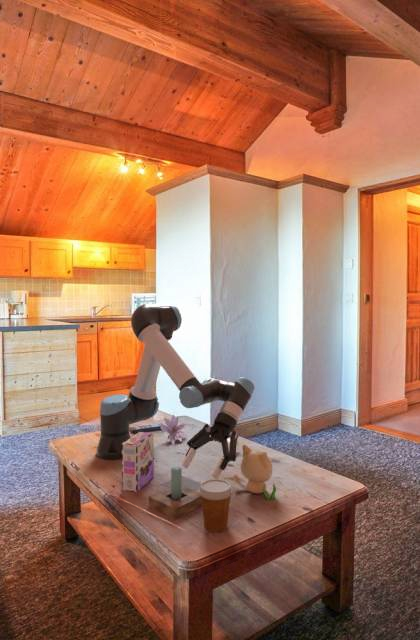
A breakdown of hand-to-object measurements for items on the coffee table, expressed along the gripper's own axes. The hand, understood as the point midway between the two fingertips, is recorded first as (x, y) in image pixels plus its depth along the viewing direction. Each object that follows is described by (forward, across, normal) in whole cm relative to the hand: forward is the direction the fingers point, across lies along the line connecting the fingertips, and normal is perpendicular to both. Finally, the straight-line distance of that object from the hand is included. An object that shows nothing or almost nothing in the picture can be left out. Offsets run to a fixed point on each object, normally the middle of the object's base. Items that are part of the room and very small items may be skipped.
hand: (199, 472), depth 144 cm
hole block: (+13, 0, +2) cm, 13 cm away
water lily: (-18, +46, -29) cm, 57 cm away
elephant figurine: (-21, +17, -32) cm, 42 cm away
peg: (+13, 0, +2) cm, 13 cm away
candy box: (+11, +22, 0) cm, 25 cm away
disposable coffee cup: (+14, -17, +2) cm, 22 cm away
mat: (+4, +9, -6) cm, 12 cm away
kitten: (-5, -13, -16) cm, 21 cm away
